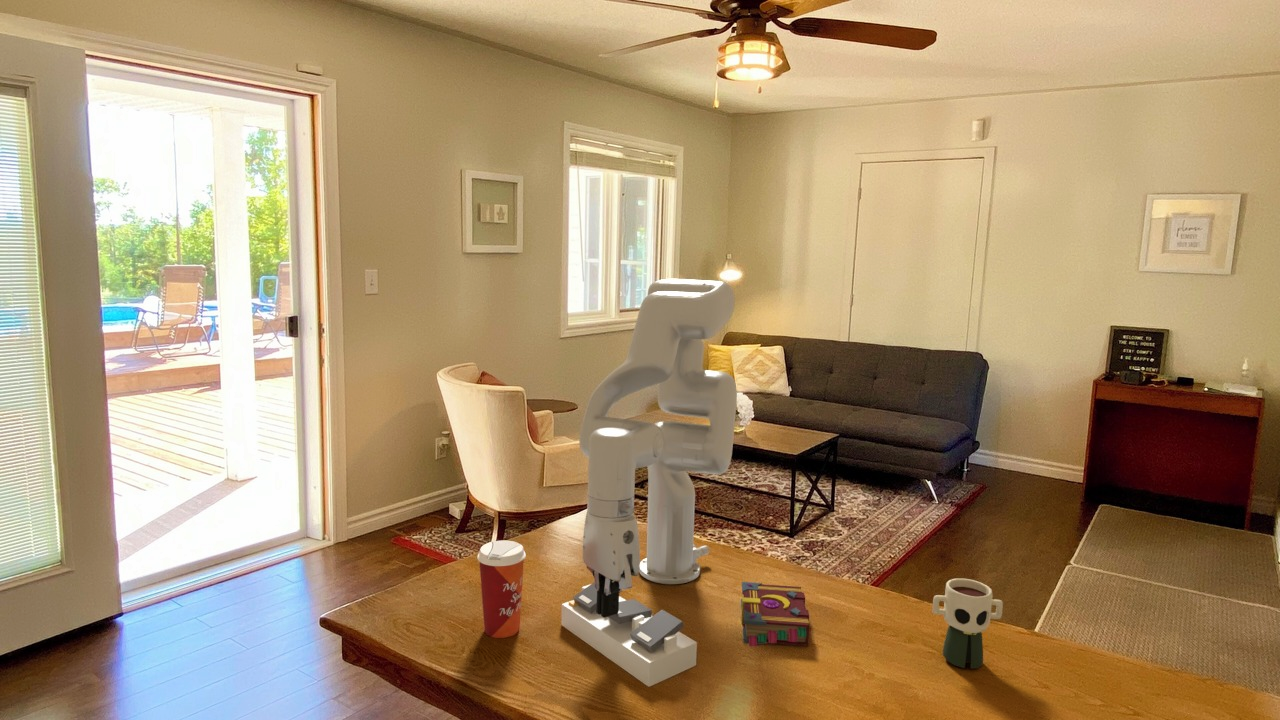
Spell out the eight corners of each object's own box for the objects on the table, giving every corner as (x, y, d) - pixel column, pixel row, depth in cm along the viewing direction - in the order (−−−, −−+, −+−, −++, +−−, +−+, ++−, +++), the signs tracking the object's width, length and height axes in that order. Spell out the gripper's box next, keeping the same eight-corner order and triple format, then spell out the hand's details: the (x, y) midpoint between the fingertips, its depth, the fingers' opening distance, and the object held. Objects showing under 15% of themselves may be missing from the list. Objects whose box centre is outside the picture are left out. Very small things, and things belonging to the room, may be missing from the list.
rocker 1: (605, 582, 141) (603, 574, 141) (622, 592, 137) (620, 585, 137) (574, 603, 138) (572, 596, 137) (592, 615, 134) (589, 607, 133)
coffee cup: (516, 644, 131) (515, 560, 129) (470, 638, 133) (469, 555, 131) (532, 620, 139) (532, 541, 137) (489, 615, 141) (488, 536, 139)
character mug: (933, 669, 126) (939, 594, 124) (923, 647, 133) (929, 575, 131) (1003, 676, 125) (1011, 600, 123) (990, 652, 132) (997, 580, 130)
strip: (596, 602, 147) (597, 571, 146) (696, 665, 126) (697, 629, 125) (552, 618, 140) (552, 586, 139) (648, 686, 120) (649, 649, 119)
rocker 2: (663, 616, 129) (661, 608, 129) (684, 628, 125) (682, 621, 125) (631, 641, 125) (629, 633, 125) (652, 654, 121) (650, 646, 121)
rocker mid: (632, 607, 136) (633, 598, 135) (651, 618, 132) (652, 609, 131) (600, 613, 131) (601, 604, 131) (619, 626, 127) (620, 616, 127)
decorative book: (800, 608, 147) (802, 583, 146) (810, 653, 131) (812, 625, 130) (740, 603, 148) (741, 579, 147) (742, 648, 132) (744, 620, 132)
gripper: (658, 513, 122) (654, 624, 125) (601, 489, 134) (598, 592, 136) (620, 522, 117) (617, 638, 120) (565, 497, 129) (562, 602, 131)
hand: (607, 613), depth 128 cm, fingers closed
